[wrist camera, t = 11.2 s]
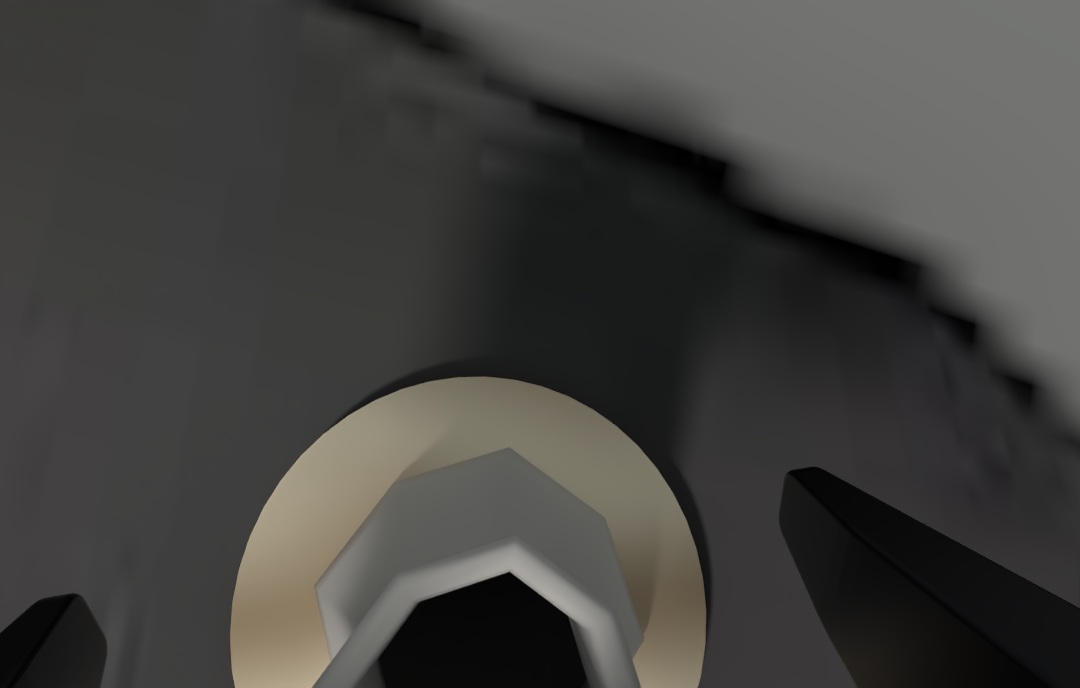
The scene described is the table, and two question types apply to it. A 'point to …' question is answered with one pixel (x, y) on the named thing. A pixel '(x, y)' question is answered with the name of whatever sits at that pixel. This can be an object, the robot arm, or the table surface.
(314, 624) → the coaster
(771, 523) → the table surface
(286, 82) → the table surface
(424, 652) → the flask
